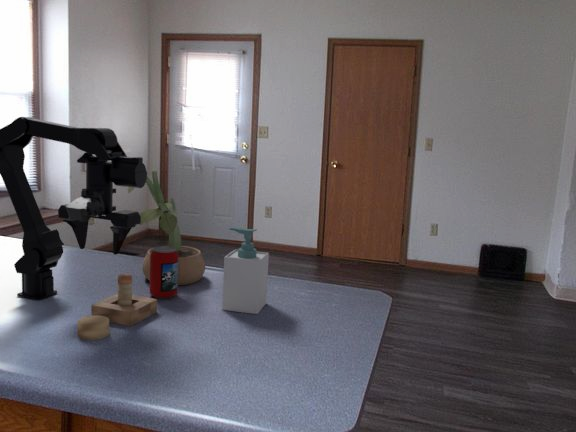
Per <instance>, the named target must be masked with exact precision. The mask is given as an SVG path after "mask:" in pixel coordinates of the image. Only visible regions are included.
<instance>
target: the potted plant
mask: <svg viewBox="0 0 576 432" xmlns="http://www.w3.org/2000/svg"><path fill="white" fill-rule="evenodd" d="M151 176H152V180H151V179H150V178H149V177H148V176H147V180H146V183H145V184H146V185H147V187H148V189H149V192H150V193H151V196H152V198H153V200H154V202H155V203H156V205H157V206H155V207H154V208H152V209H147V210H144V211H141V212H140V213H139V214H140V216H141V224H139V225H140V226H142V225H144V224H147V223H149V222H151V221H155V220H157V219H159V218H160V220H159V221H158V222H159V223H158V224H159V227H160V228H161V230H163V231H164V232H167V233H168V246H170V247H174V248H176V252H177V254H178V286H186V285H192V284H194V283H197V282H198V281H199V280H201V279H202V277H203V275H204V274H205V271H206V262H205V259H204V257H203V255H202V252H201V250H200V249H198V248H196V247H192V246H186V245H182V237H181V230H180V227H179V224H178V214H177V207H176V203H175V199H174V198H173V197H172V198H170V202H166V203H165V199H164V195H163V192H162V189H161V186H160V182H159V177H158V170H152V171H151ZM134 189H135V188H133V187H127V191H128V194H130V193H131V192H132V191H134ZM171 208H172V211H171V210H170V209H171ZM153 248H154V247H151V248H150V249H148V250H147V251H146V252H147V253H146V254H145V256H144V259H143V262H142V273H143V275H144V277H145V278H146V279H147V281H149V282H150V255H151V253H152V251H153Z"/></svg>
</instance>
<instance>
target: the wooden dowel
mask: <svg viewBox="0 0 576 432" xmlns="http://www.w3.org/2000/svg"><path fill="white" fill-rule="evenodd" d="M132 292H133V275H132V274H130V273H123V274H118V275H117V294H118V305H121V306H126V307H128V306H130V305H132V295H133V293H132Z"/></svg>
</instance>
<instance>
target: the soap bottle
mask: <svg viewBox="0 0 576 432" xmlns="http://www.w3.org/2000/svg"><path fill="white" fill-rule="evenodd" d="M229 230H230V231H234V232H236V233H238V234H241V235H243V239H244V241H243V242H242V243H241V246H240V247H239V248H238V249H237V248H236V249H234V250H232V251H231V252H229V253H227V255H225V256H224V258H223V261H224V262H223V278H222V279H223V281H222V282H223V283H222V307H221V308H222V309H221V310H222V311H228V312H235V313H236V312H237V313H243V314H244V313H246V314H255V315H258V314H259V312H260V311H261V310H262V309H263V308H264V306H265V305H266V304H267V296H268V295H267V293H268V274H269V273H268V272H269V260H270V259H269V258H270V257H269V256H270V253H269V252H266V251H258V250H257V249H256V248H255V247H254V246H255V245H254V242H251V239H252V235H253V232H256V231H258V230H257V229H256V228H253V229H252V228H251V229H250V228H242V227H235V226H234V227H229Z"/></svg>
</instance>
